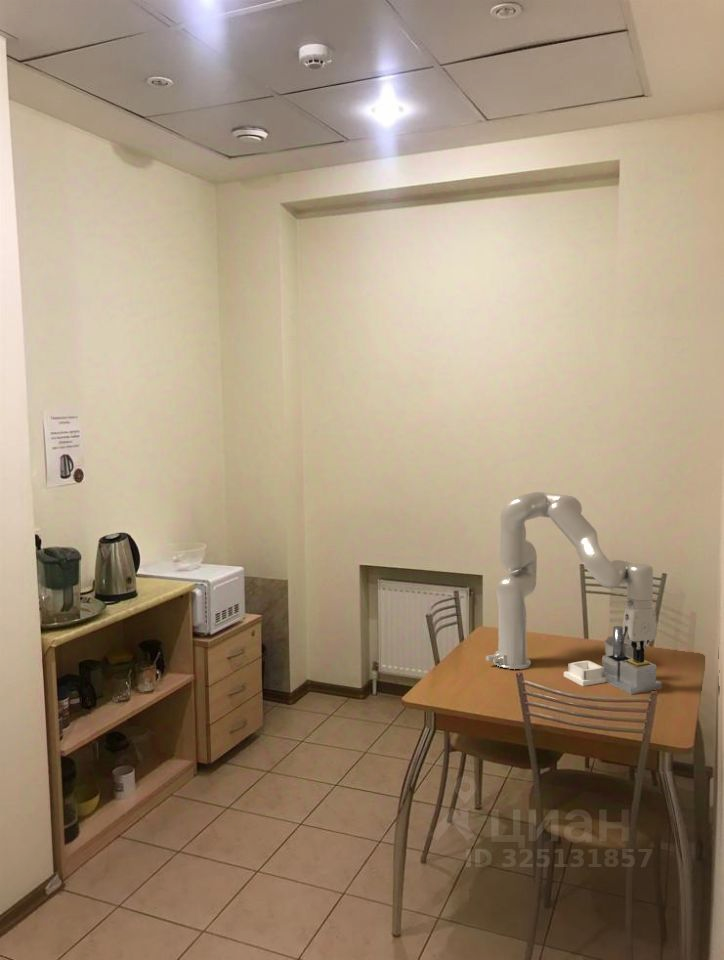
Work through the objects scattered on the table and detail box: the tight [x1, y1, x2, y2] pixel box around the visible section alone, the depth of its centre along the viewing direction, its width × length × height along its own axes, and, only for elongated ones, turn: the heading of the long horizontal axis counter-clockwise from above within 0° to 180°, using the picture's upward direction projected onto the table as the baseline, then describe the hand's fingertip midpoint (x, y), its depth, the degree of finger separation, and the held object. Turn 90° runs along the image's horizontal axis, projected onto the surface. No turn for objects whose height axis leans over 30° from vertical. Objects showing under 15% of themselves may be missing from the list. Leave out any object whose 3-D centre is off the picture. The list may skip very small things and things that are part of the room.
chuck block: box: [601, 654, 663, 695], centre depth 249 cm, size 12×17×8 cm
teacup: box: [604, 635, 636, 658], centre depth 268 cm, size 14×11×8 cm
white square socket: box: [563, 659, 606, 687], centre depth 253 cm, size 10×10×4 cm
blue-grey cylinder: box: [612, 625, 626, 661], centre depth 252 cm, size 4×4×15 cm
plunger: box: [628, 659, 650, 667], centre depth 244 cm, size 4×4×6 cm
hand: (638, 660), depth 244 cm, fingers closed
